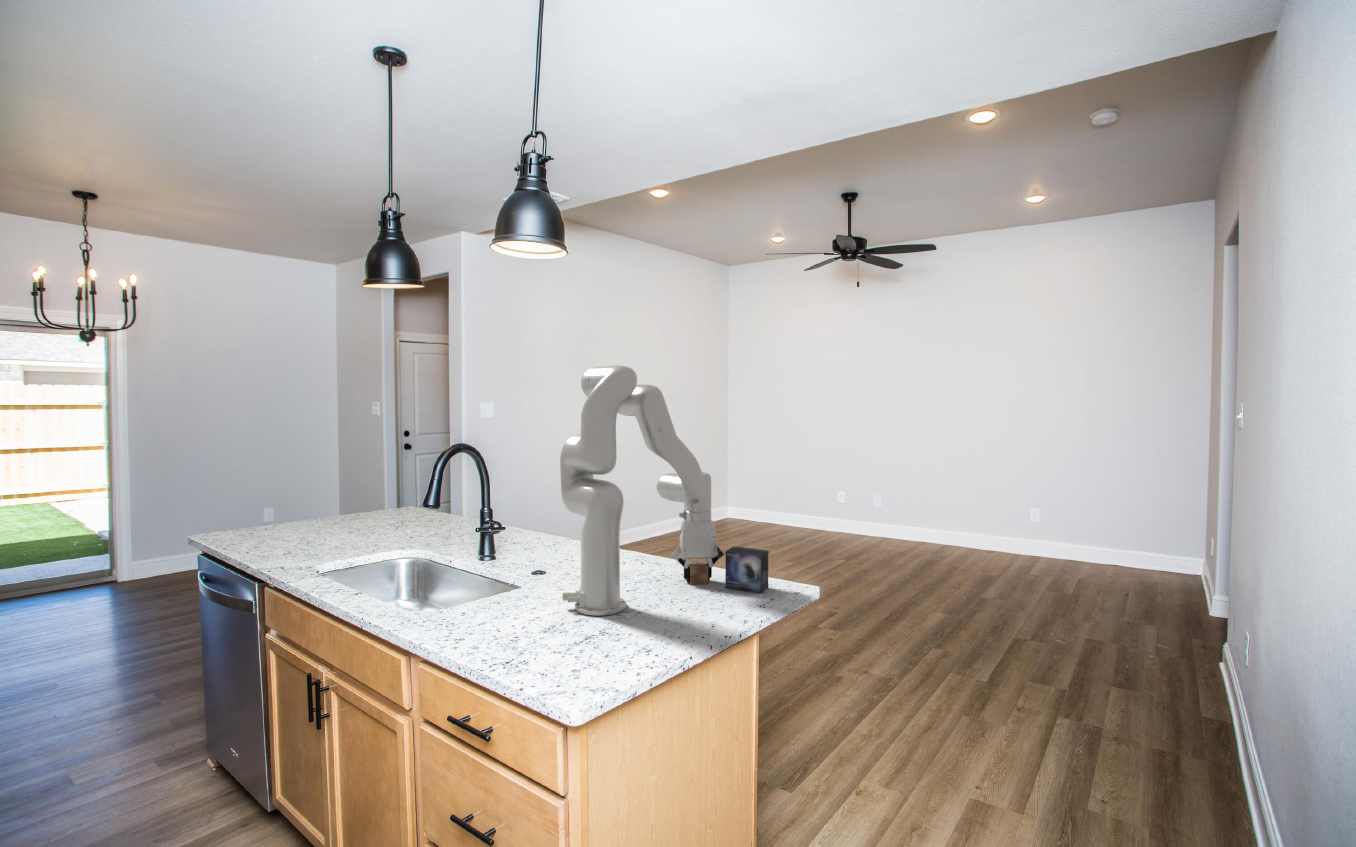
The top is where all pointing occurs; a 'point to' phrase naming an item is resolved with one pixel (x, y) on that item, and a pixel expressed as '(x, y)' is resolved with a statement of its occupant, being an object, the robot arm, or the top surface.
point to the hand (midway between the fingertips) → (697, 580)
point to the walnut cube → (698, 573)
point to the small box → (747, 569)
